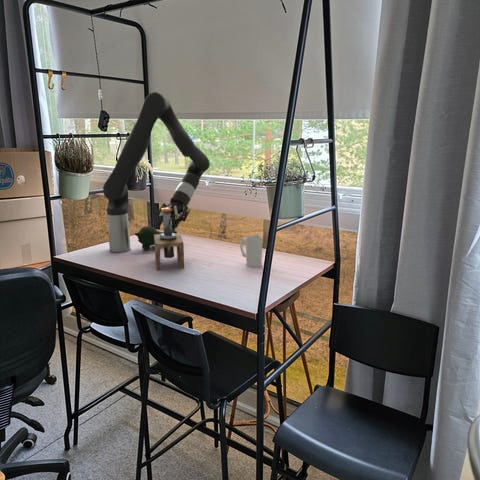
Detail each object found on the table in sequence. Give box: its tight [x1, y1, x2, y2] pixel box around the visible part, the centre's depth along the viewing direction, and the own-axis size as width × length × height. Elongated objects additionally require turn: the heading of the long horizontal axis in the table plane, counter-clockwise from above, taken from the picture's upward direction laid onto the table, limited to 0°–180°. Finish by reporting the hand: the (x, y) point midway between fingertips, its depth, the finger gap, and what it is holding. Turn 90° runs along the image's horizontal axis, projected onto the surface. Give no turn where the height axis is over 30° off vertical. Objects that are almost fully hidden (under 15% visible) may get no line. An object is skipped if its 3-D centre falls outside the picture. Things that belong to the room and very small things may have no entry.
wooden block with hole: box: [154, 232, 185, 271], centre depth 178 cm, size 11×16×11 cm
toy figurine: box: [134, 216, 179, 251], centre depth 203 cm, size 9×19×25 cm
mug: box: [239, 234, 263, 268], centre depth 177 cm, size 10×7×12 cm, turn 56°
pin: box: [160, 207, 177, 259], centre depth 176 cm, size 7×7×20 cm
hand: (165, 226), depth 174 cm, fingers open, 8 cm apart
